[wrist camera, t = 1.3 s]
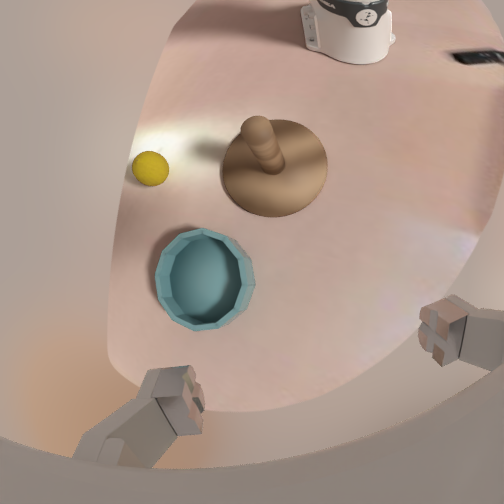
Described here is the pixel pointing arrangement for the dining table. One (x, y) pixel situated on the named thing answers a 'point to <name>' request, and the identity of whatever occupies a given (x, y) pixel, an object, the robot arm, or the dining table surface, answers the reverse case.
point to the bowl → (204, 279)
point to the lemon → (150, 168)
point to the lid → (274, 167)
